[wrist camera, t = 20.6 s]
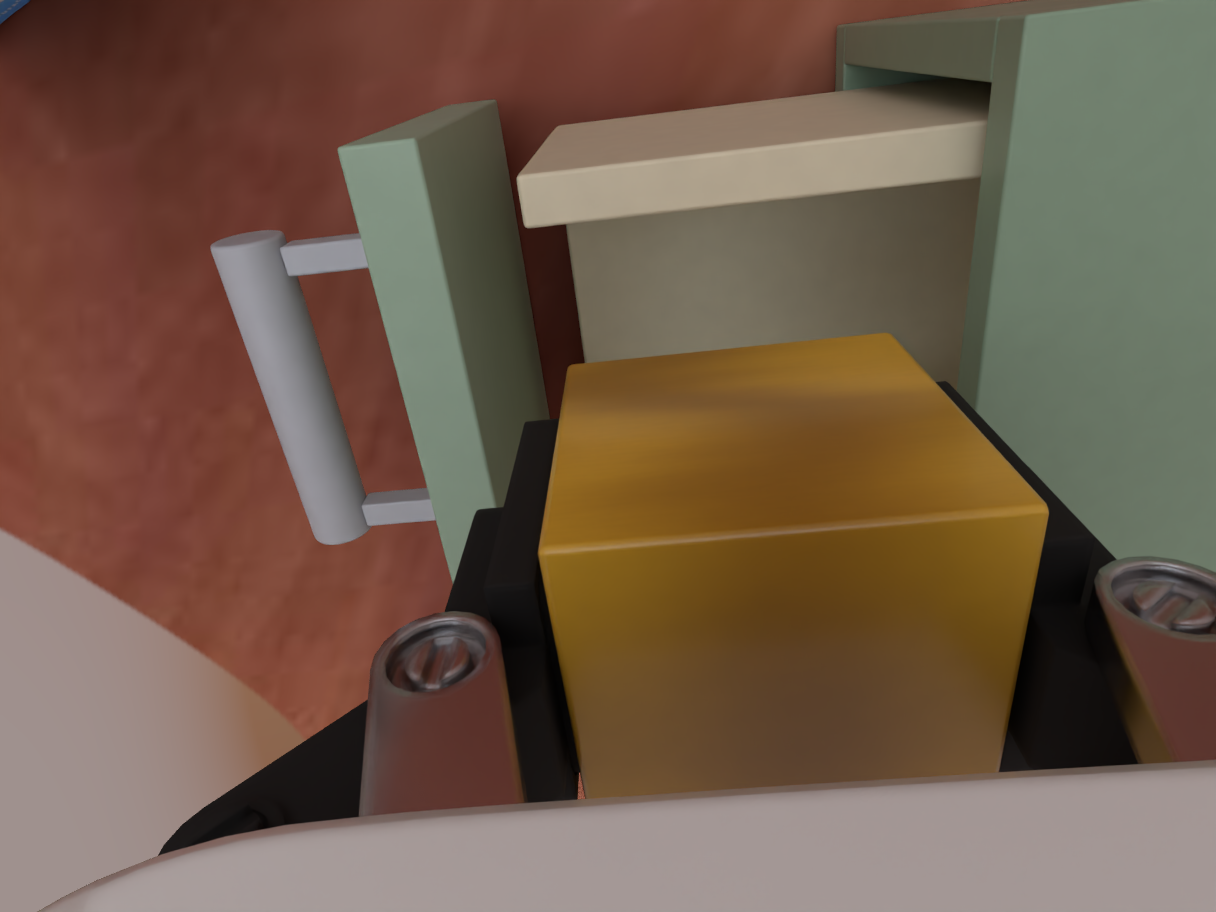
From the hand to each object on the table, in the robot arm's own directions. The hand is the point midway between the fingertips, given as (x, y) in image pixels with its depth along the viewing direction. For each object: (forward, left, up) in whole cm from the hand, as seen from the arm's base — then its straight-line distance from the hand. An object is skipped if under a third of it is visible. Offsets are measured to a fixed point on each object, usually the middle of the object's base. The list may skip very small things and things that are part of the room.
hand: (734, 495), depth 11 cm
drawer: (-1, 0, -10) cm, 10 cm away
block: (0, 0, 0) cm, 0 cm away
